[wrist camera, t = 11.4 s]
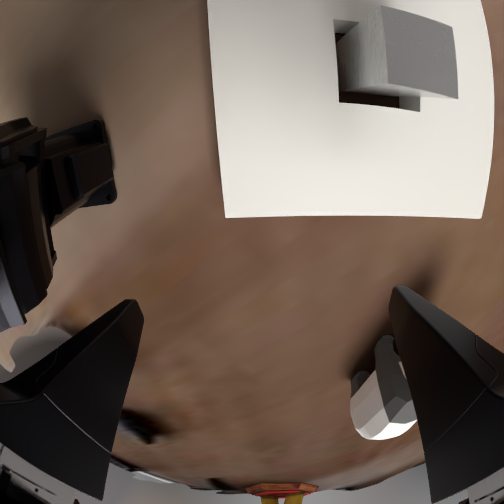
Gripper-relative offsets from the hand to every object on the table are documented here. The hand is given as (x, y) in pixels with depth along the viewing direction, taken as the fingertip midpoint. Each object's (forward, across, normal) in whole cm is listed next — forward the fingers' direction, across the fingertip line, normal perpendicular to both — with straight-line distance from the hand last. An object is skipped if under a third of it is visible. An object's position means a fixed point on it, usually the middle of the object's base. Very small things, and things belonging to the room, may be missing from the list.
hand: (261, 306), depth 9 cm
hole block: (+11, -7, -8) cm, 16 cm away
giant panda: (+11, -12, +18) cm, 24 cm away
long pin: (+11, -7, -9) cm, 16 cm away
